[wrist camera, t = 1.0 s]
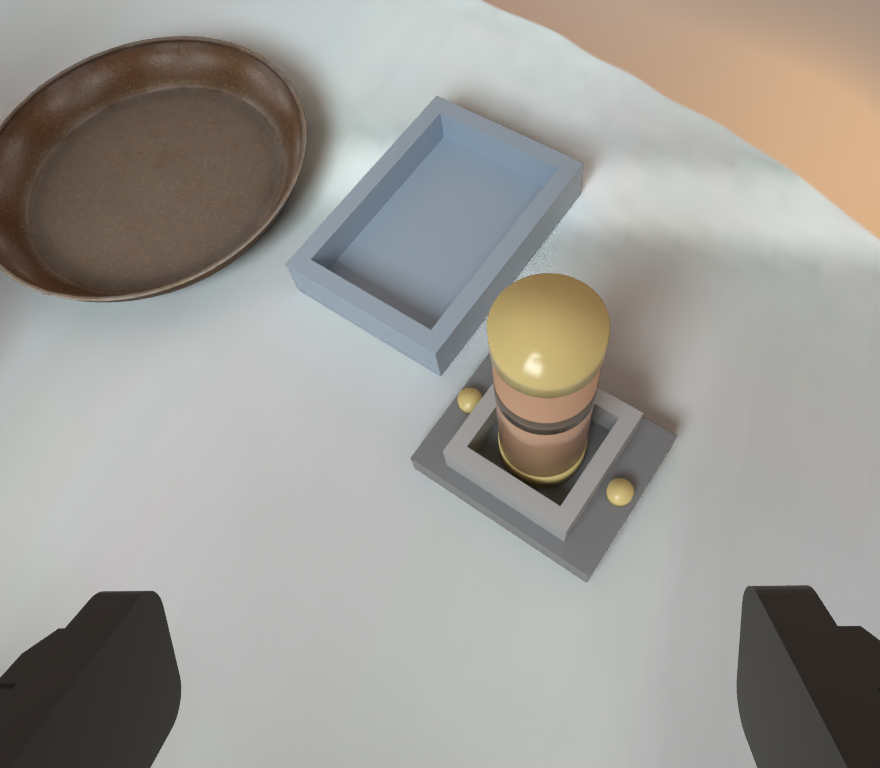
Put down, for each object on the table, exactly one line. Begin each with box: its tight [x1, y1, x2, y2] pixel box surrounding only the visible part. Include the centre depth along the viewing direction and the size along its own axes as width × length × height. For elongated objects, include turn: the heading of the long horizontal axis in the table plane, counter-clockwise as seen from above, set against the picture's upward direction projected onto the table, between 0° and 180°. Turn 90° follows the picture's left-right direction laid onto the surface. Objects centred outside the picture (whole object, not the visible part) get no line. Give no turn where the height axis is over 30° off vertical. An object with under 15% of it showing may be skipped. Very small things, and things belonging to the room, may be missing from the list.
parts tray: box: [285, 96, 584, 376], centre depth 42 cm, size 10×14×3 cm
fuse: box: [487, 273, 610, 488], centre depth 30 cm, size 4×4×12 cm
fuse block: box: [411, 353, 677, 582], centre depth 36 cm, size 10×8×4 cm
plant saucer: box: [0, 36, 307, 302], centre depth 46 cm, size 21×21×3 cm
